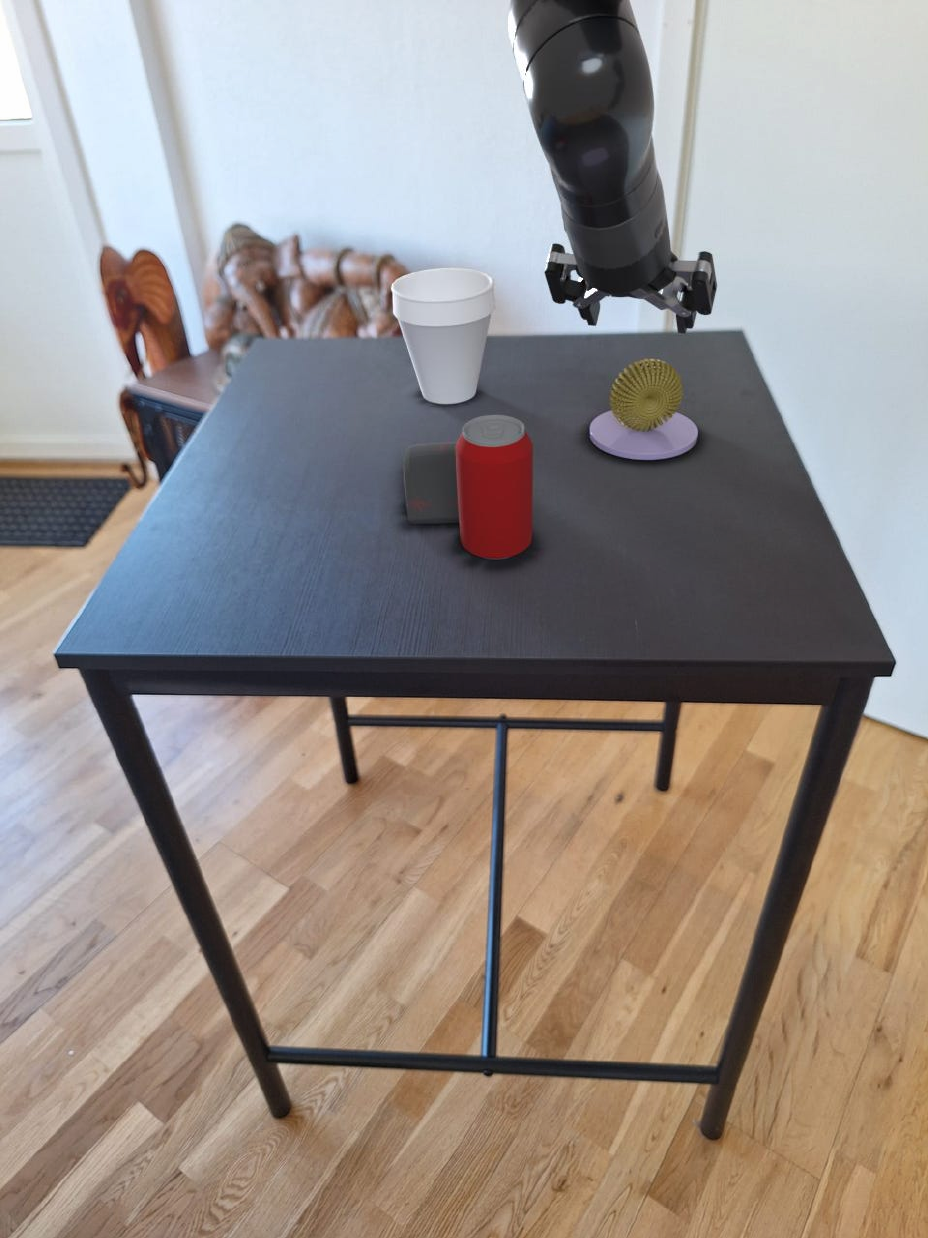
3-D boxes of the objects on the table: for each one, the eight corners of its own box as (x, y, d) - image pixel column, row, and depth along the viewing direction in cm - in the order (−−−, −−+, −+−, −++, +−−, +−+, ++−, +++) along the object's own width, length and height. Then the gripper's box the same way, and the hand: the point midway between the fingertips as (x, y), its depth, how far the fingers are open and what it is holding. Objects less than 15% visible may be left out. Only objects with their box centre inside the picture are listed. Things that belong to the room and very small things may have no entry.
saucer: (705, 421, 98) (706, 413, 97) (685, 469, 89) (687, 460, 88) (604, 408, 102) (604, 400, 101) (576, 453, 93) (576, 445, 92)
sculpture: (671, 417, 97) (679, 349, 92) (683, 433, 93) (692, 363, 88) (603, 424, 96) (607, 356, 91) (612, 440, 93) (617, 370, 88)
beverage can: (533, 526, 82) (534, 411, 74) (530, 566, 76) (531, 446, 69) (464, 525, 82) (458, 410, 75) (457, 565, 77) (449, 445, 70)
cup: (493, 413, 102) (490, 299, 93) (393, 413, 103) (381, 300, 95) (501, 373, 111) (499, 266, 103) (409, 373, 113) (400, 267, 104)
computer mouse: (483, 458, 93) (481, 424, 91) (482, 524, 82) (480, 488, 80) (410, 460, 93) (407, 427, 91) (400, 526, 83) (396, 490, 80)
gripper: (721, 176, 62) (724, 287, 77) (537, 171, 67) (574, 277, 82) (700, 272, 61) (706, 365, 77) (516, 260, 66) (557, 350, 81)
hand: (638, 320), depth 79 cm, fingers open, 8 cm apart
